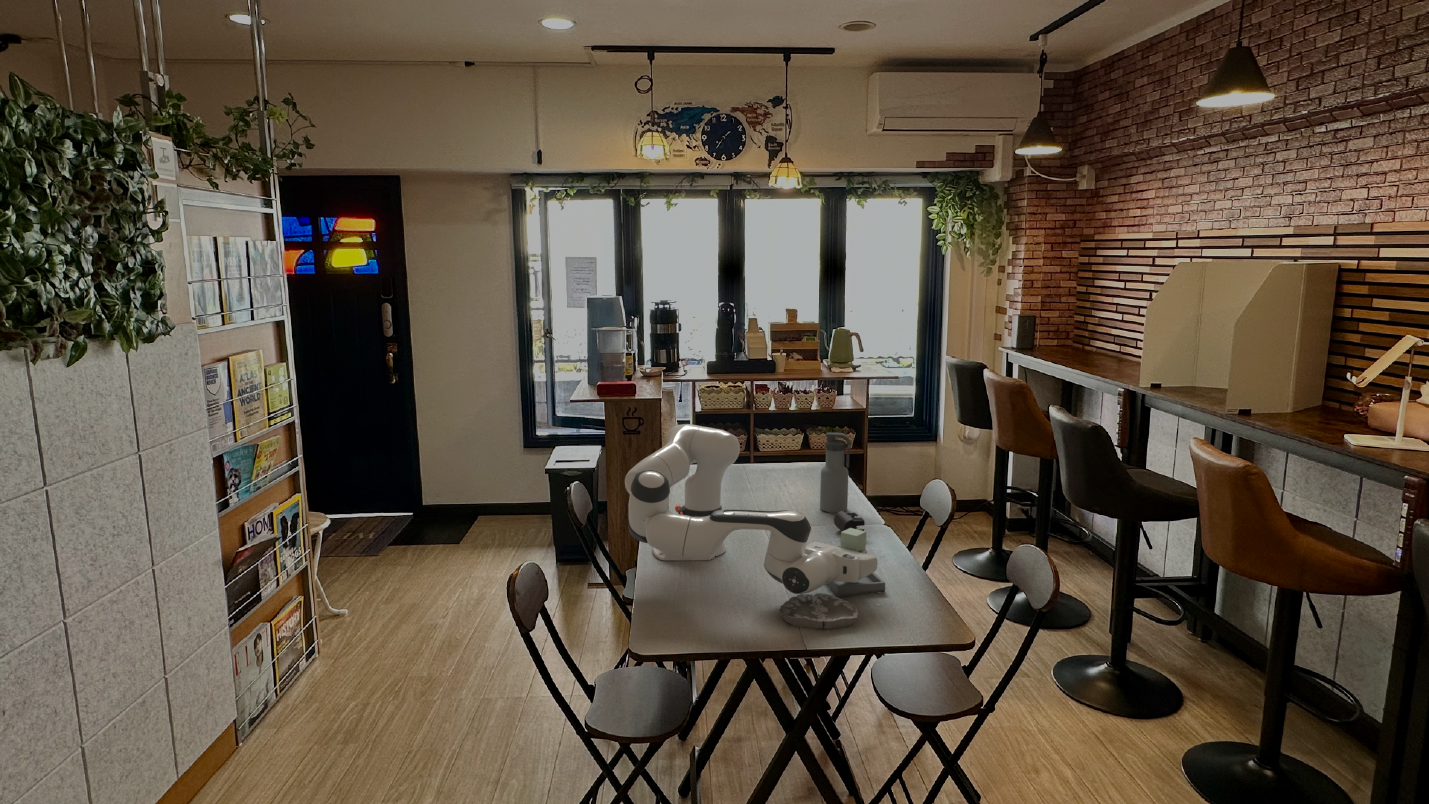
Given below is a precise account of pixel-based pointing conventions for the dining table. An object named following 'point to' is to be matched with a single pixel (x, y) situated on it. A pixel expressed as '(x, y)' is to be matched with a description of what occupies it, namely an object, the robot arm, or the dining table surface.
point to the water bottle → (835, 474)
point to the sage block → (853, 540)
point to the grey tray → (858, 586)
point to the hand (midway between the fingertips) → (854, 550)
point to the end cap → (847, 521)
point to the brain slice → (819, 611)
